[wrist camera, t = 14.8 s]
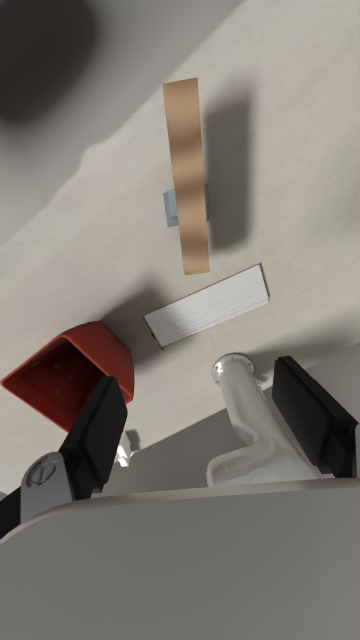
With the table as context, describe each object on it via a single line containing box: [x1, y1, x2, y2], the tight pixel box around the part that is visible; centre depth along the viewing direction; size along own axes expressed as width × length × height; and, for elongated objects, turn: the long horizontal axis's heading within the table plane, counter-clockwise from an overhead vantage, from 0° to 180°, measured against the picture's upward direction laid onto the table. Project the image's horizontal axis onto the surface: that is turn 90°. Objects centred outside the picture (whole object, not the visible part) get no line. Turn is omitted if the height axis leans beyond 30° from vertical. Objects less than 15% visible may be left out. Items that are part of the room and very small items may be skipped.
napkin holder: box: [117, 432, 133, 467], centre depth 66 cm, size 15×11×6 cm
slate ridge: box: [163, 184, 209, 227], centre depth 35 cm, size 6×9×7 cm, turn 97°
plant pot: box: [0, 321, 134, 433], centre depth 44 cm, size 19×19×17 cm
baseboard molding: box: [143, 264, 269, 349], centre depth 47 cm, size 31×3×12 cm
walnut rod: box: [163, 78, 210, 275], centre depth 30 cm, size 24×4×5 cm, turn 7°
